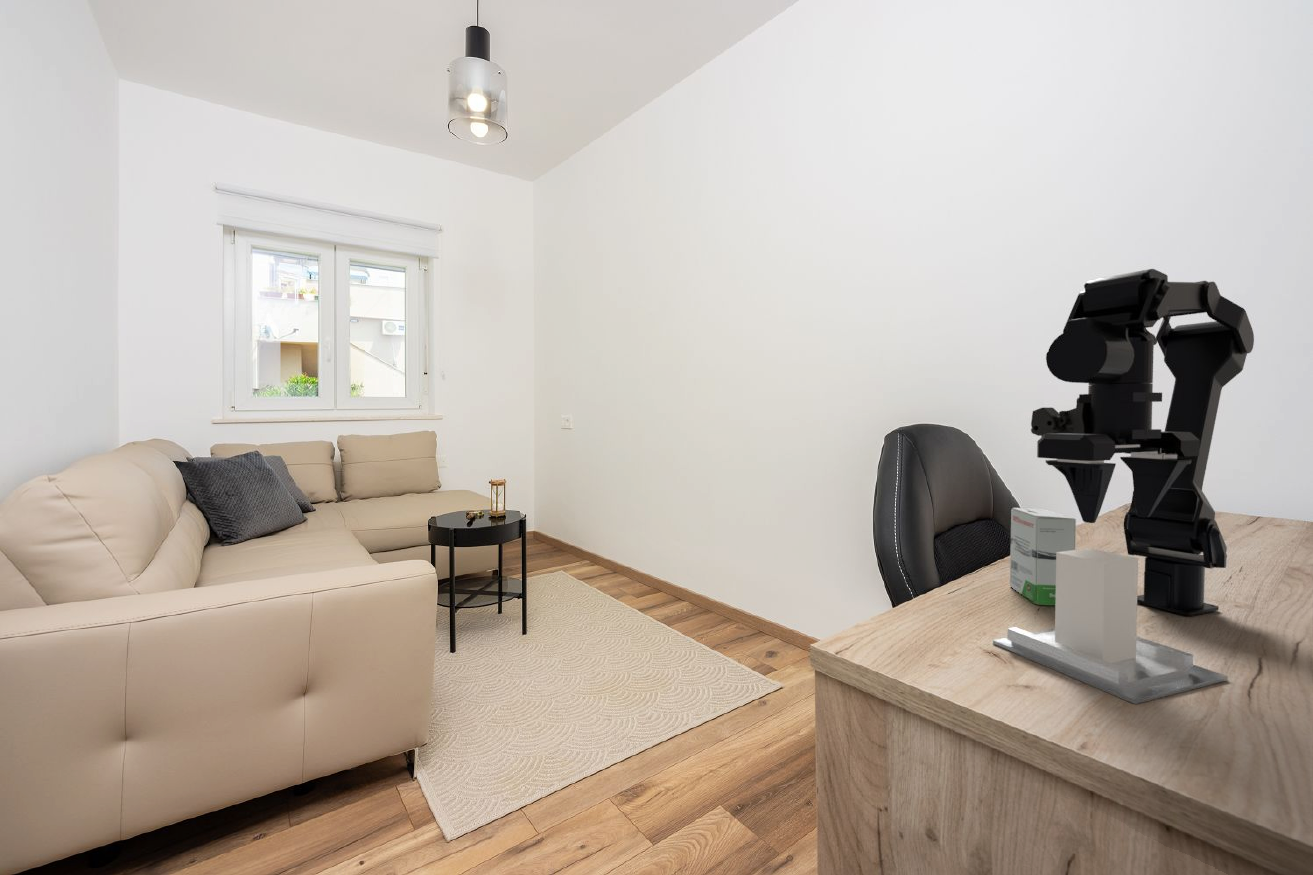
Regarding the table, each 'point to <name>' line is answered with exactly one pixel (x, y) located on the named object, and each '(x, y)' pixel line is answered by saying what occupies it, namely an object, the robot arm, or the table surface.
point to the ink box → (1038, 551)
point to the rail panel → (1116, 666)
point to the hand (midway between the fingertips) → (1116, 519)
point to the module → (1097, 603)
